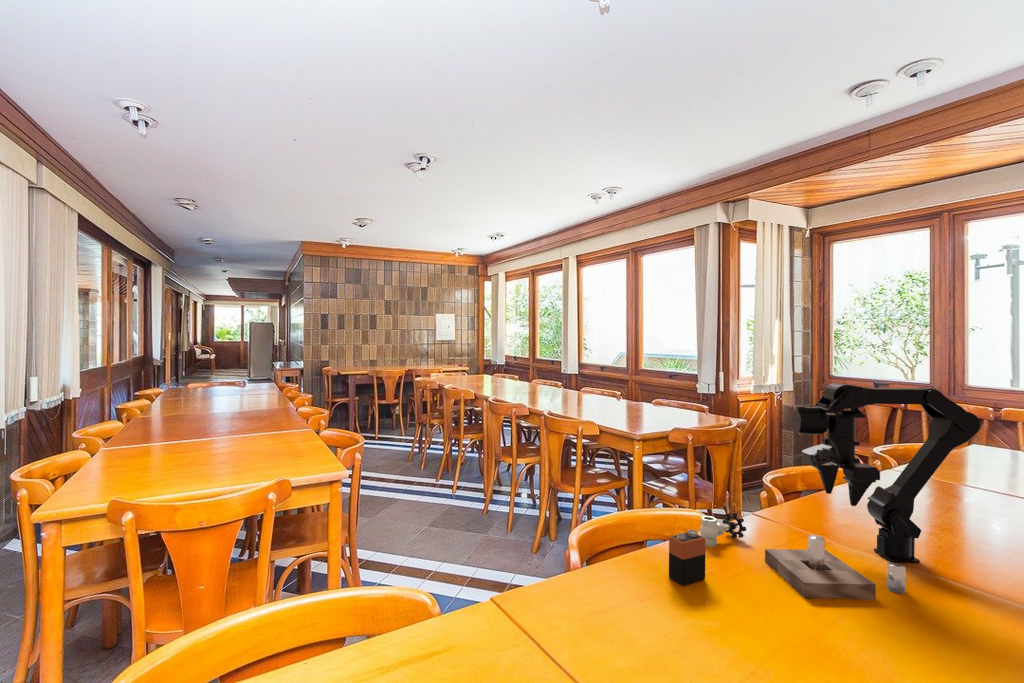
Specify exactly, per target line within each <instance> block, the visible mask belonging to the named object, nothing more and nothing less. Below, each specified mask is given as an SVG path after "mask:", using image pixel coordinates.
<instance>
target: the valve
mask: <svg viewBox="0 0 1024 683" xmlns="http://www.w3.org/2000/svg"><path fill="white" fill-rule="evenodd" d="M724 517H726V518H725V519H723V520H722V524H721V523H719V522H718V519H717V518H715V516H714V517H713V516H711V515H704V516H701V517H700V521H701V522H700V524H701V525H700V527H699V532H700V536H702V537H704V538H705V539H706V547H708V546H711V547H710V548H714V547H717V546H718V539H717V538H718V536H723V534H724V532H725V533H727V534H728V533H729V534H731V536H730V537H731V538H733V539H736V538H737V537H738V538H740V539H741V538H743V537H745V535H744V533H743V532H746V531H747V527H746V526H744V525H743V524H742V523H744V522H745V520H744V518H743V517H738V513H737V511H736V512H732V513H730V512H727V513H725V515H724ZM732 519H733V520H734V521H731V520H732ZM738 527H739V528H738ZM736 529H738V530H737V531H735V530H736ZM713 546H714V547H713Z"/></svg>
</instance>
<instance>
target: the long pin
mask: <svg viewBox="0 0 1024 683" xmlns="http://www.w3.org/2000/svg"><path fill="white" fill-rule="evenodd" d="M807 539H808V540H807V550H808V567H809V568H810V569H811V570H824V553H825V550H826V549H825V543H826V542H825V541H826V539H825V538H824V537H823V536H821V535H817V534H809V535H808V538H807Z"/></svg>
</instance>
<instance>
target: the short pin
mask: <svg viewBox="0 0 1024 683" xmlns="http://www.w3.org/2000/svg"><path fill="white" fill-rule="evenodd" d="M888 589H889V590H888ZM886 590H888V591H890V592H891V593H895V594H899V595H904V594H906V567H905V566H904V565H902V564H899V563H898V562H888V563H886Z"/></svg>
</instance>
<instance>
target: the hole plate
mask: <svg viewBox="0 0 1024 683" xmlns="http://www.w3.org/2000/svg"><path fill="white" fill-rule="evenodd" d="M764 563H765V564H767V565H768V566H769V567H770V568H771V567H772V568H773V569H774V570H775V571H776V572H775V571H774V570H773V569H772V568H771V569H772V570H773V571H774V572H775V573H776V574H777V575H778V576H780V577H781V578H782V577H783V578H782V579H783V580H784V579H785V580H786V581H787V582H788V585H790V586H791V585H792V586H793V587H794V588H795V589H796V590H795V589H794V588H793V587H792V586H791V587H792V588H793V589H794V590H795V591H796V592H797V593H798V592H799V593H798V594H800V596H802V598H804V599H830V598H850V599H849V600H876V598H877V597H876V592H877V591H876V588H877V587H876V586H877V584H876V583H874V582H873V581H872V580H870V579H869V578H867V577H865V576H864V575H863V574H861V573H860V572H859V571H857V570H856V569H854V568H853V567H851V566H850V565H848V564H847V563H846V562H844V561H843V560H841V559H840V558H839V557H837V556H836V555H834V554H833V553H831V552H829V551H828V550H827V549H825V553H824V570H811V569H810V568H809V567H808V549H787V548H786V549H785V548H782V549H779V548H777V549H776V548H775V549H774V548H765V549H764ZM785 580H784V581H785ZM786 581H785V582H786ZM787 582H786V583H787Z"/></svg>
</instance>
